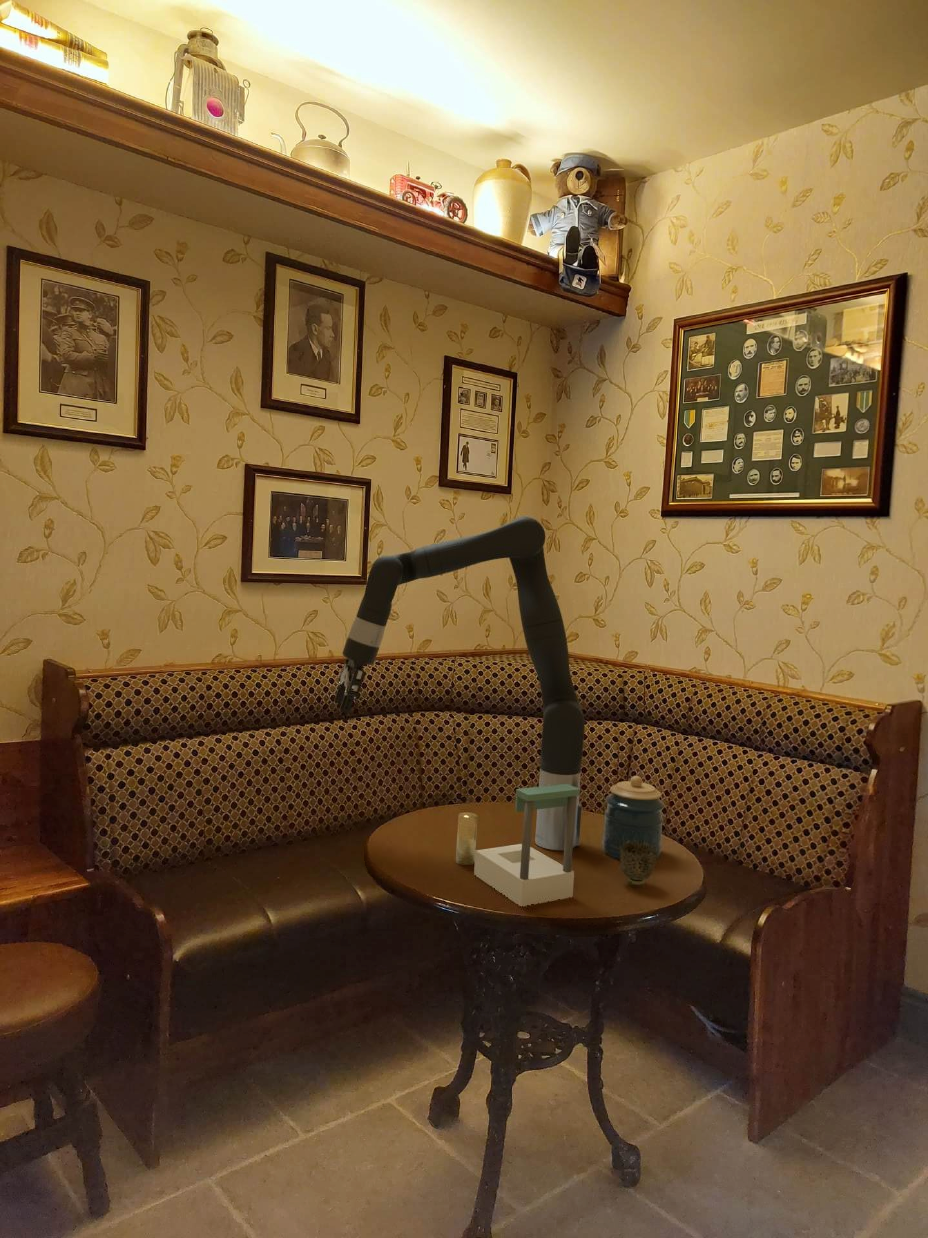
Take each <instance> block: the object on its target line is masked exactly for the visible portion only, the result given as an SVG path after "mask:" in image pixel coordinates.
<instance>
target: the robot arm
mask: <svg viewBox="0 0 928 1238" xmlns="http://www.w3.org/2000/svg"><path fill="white" fill-rule="evenodd" d="M545 541H546V531H545V529H544V526H543V525H542V524H541V522H540V521H538V520H537V519H535V518H533V517H530V516H529V517H528V516H519V517H516V518H514V519H513V520H511V521H510V522H508V523H506V524H503V525H501V526H498V527H496V528H493V529H491V530H488V531H485V532H481V533H478V534H474V535H470V536H465V537H462V538H457V539H451V540H446V541H442V542H437V543H434V544H433V543H432V544H430V545H424V546H421V547H419V548H415V549H413V550H412V551H406V552H402V553H399V554H394V555H383V556H380V557H377V559H375V560H374V562H373V563H372V564H371V567H370V570H369V573H368V577H367V581H366V586H365V588H364V594H363V597H362V600H361V601H360V604H359V607H358V610H357V613H356V616H355V618H354V621H353V622H352V624H351V626H350V630H349V633H348V635H347V639H346V642H345V644H344V647H343V651H342V656H344V657H345V660H344V663H343V665H342V669H341V672H340V675H339V677H338V679H337V680H338V688H337V691H336V694H335V697H334V699H333V700H334V702H335V703H337V704H339V705H340V707H339V711H340V713H344V714H349V713H350V712H351V708H352V706H353V704H354V700H355V699H356V698H358V697H359V695H360V692H361V689H362V686H363V683H364V679H365V678H366V677H365V676H366V675H367V674H366V671H364V666H365V665H368V666H373V665H374V664H375V661H376V659H377V656H378V653H379V650H380V647H381V645H382V641H383V639H384V636H385V630H386V626H387V624H388V620H389V618H390V615H391V611H392V607H393V606H392V605H393V604H392V602H393V600H394V597H395V594H396V591H397V589H398V586H401V585H404V584H407V583H410V582H413V581H416V580H420V579H428V578H433V577H436V576H441V575H445V574H448V573H452V572H456V571H458V570H462V569H465V568H468V567H472V566H475V565H477V564H480V563H484V562H489V561H492V560H493V561H494V560H499V559H500V560H501V559H508V560H509V561H510V565H511V567H512V570H513V574H514V577H515V582H516V587H517V599H518V606H519V607H518V608H519V609H518V610H519V614H520V621H521V626H522V630H523V635H524V640H525V645H526V648H527V651H528V654H529V657H530V659H531V663H532V665H533V667H534V670H535V672H536V675H537V678H538V681H539V685H540V692H541V700H542V701H541V702H542V708H543V711H542V712H543V714H542V715H543V716H542V717H543V718H542V729H541V745H540V746H541V749H540V759H539V760H540V763H539V779H538V787H542V786H551V785H561V784H569V785H571V786H574V787H576V788H578V789H580V790H581V787H580V786H581V771H582V763H583V753H584V739H585V729H586V728H585V726H586V725H585V724H586V723H585V722H586V721H585V717H584V715H585V714H584V712H583V710H582V707H581V705H580V701H579V699H578V695H577V693H576V690H575V687H574V683H573V681H572V676H571V668H570V659H569V658H570V657H569V647H568V640H567V635H566V634H567V633H566V628H565V625H564V619H563V615H562V611H561V609H560V604H559V603H558V599H557V597H556V594H555V592H554V590H553V587H552V584H551V582H550V579H549V575H548V572H547V564H546V559H545V551H544V550H545V549H544V545H545ZM579 800H580V795H579V796H576V808H575V822H574V837H573V849H574V848H575V847H576V846H580V839H581V825H582V823H581V822H582V810H583V805H582V804H581V803H580V801H579ZM566 816H567V806H562V807H553V808H545V809H537V810H536V824H535V838H534V841H535V842H534V843H535V844H536V846H539V847H540V848H543V849H547V850H553V851H564V845H565V831H566Z"/></svg>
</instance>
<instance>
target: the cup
mask: <svg viewBox="0 0 928 1238" xmlns="http://www.w3.org/2000/svg"><path fill="white" fill-rule="evenodd" d="M620 846H621V844H620ZM656 854H657V847H656V848H654V846H653V845H652V846H651V847H650V845H649V844H648V843H647V844H645V843H644V842H643V843H642V844H641V845H640V846H639V843H638V842H636V843H635V844H633V842H631V841H628V842H627V843H626V842H623V846H621V847H620V859H619V861H620V868H621V871H622V873H623V875H624V876H625V877H627V878H626V882H627V885H629V886H630V887H633V888H643V887H644V886H645V885H646V880H647V879H649V878H650V877H651V876H652V875H653V871H654V868H655V863H656V860H657V859H656ZM655 859H656V860H655Z"/></svg>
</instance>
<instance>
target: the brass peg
mask: <svg viewBox="0 0 928 1238" xmlns="http://www.w3.org/2000/svg"><path fill="white" fill-rule="evenodd" d="M457 816H458V821H457V837H456V851H455V862H456V864H459V865H461V866H471V865H475V851H476V850H477V849H476V847H477V846H476V844H477V830H478V829H477V828H478V814H477V813H474V812H469V811H468V812H459V814H458V815H457Z"/></svg>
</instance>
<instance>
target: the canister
mask: <svg viewBox="0 0 928 1238" xmlns="http://www.w3.org/2000/svg"><path fill="white" fill-rule="evenodd" d="M609 791H610V792H611V793H610V794H608V795H607V796H606V797H605V801H606V804H607V807H606V808H607V809H605V811H604V827H603V837H602V842H601V843H602V848H603V849H602V850H603V852H604V853H605V854H606V855H608V856H609V857H611V858H615V859H617V860H620V847H621V846H623V842H626V843H627V842H628V841H631V842H633V844H635V843H636V842H638V843H639V846H640V845H641V844H642V843H643V842H644V843H645V844H647V843H648V844H649V845H650V847H651V846H652V845H653V846H654V848H656V847H657V854H656V859H655V861H657V860H658V859H659V858H660V854H661V852H662V843H661V842H662V833H663V832H662V830H663V829H662V828H663V822H664V818H663V816H662V811H663V809H664V808H665V803H664V802H663V801H662V800H661V799H660V798H661V797H662V793H661V791H659V790H658V789H657V788H656V787H655V786H653V785H651V784H649V783H645V782H643V779H642V777H641V776H639V775H633V776H632V777H631V778H630V781H629V780H627V781H619V782H617V783H616V784H614V785H612V786H611V787H610V788H609ZM620 844H621V846H620Z"/></svg>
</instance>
